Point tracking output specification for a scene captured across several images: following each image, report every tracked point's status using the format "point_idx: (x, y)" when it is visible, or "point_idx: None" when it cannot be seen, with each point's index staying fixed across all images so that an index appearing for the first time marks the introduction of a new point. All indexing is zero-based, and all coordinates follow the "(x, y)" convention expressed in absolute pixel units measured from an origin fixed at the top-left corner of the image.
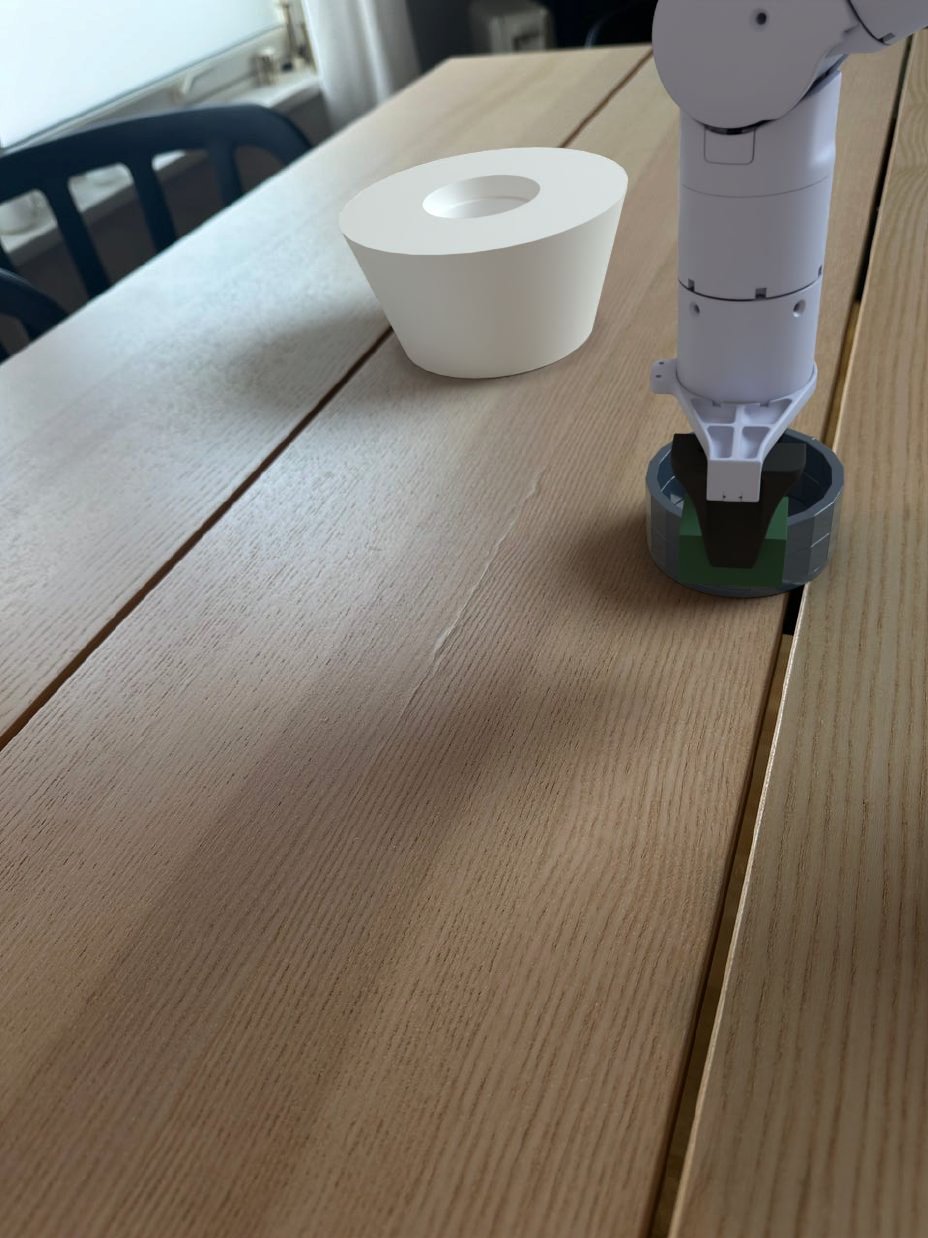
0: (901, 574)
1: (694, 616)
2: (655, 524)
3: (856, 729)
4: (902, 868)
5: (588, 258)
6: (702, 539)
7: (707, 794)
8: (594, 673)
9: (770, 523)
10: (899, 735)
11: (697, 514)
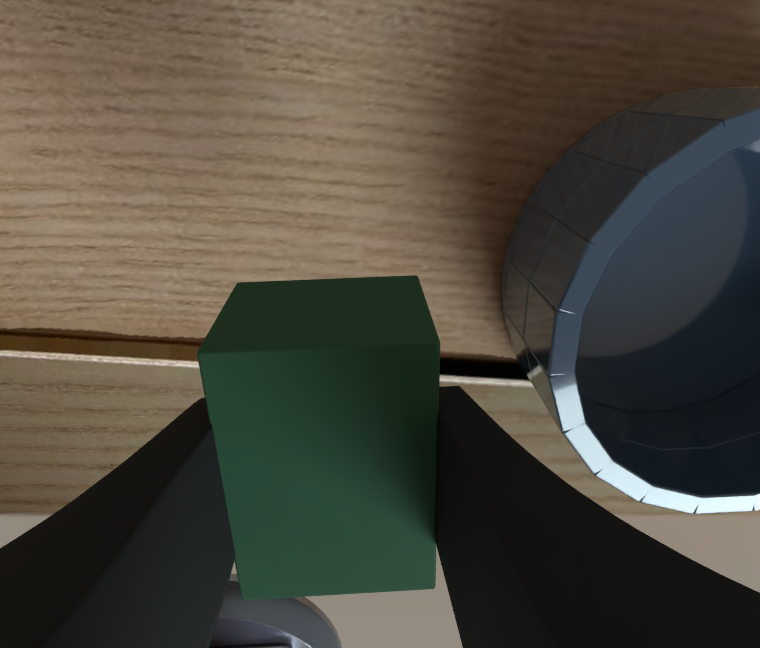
0: None
1: (447, 217)
2: (656, 128)
3: None
4: (29, 501)
5: None
6: (154, 437)
7: (44, 285)
8: (258, 42)
9: (304, 566)
10: None
11: (49, 518)
